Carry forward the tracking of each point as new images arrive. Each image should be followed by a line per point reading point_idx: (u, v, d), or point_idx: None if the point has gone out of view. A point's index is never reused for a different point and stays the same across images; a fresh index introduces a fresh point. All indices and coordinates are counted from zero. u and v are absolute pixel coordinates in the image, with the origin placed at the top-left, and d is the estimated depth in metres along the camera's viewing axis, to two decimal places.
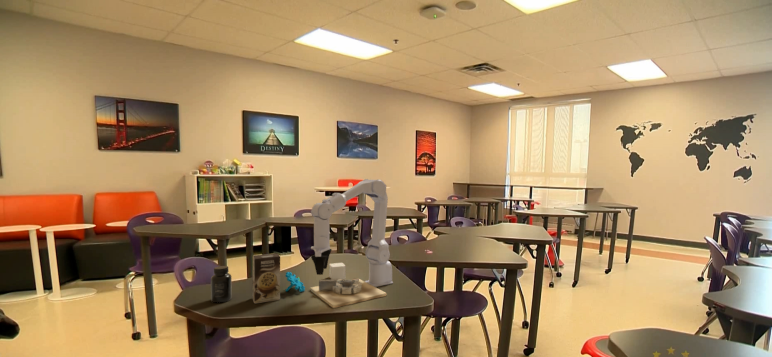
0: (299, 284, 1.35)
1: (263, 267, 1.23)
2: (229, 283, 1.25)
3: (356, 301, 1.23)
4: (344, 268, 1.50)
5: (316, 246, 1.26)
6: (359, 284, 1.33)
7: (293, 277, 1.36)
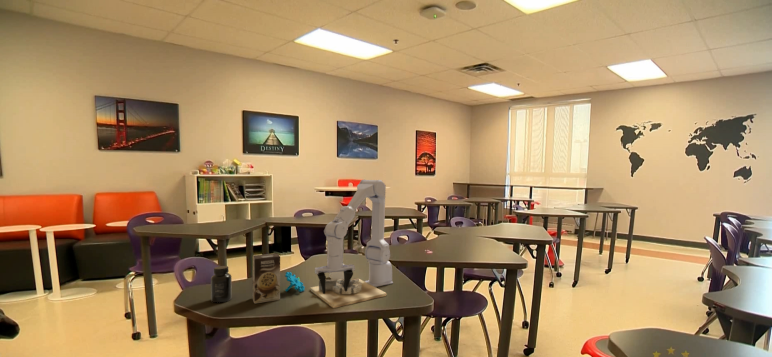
0: (299, 284, 1.35)
1: (263, 267, 1.23)
2: (229, 283, 1.25)
3: (356, 301, 1.23)
4: None
5: None
6: (359, 284, 1.33)
7: (293, 277, 1.36)
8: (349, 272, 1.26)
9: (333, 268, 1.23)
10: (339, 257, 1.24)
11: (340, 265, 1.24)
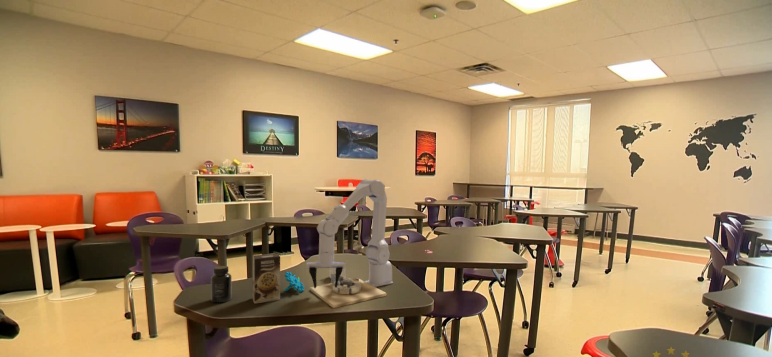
0: (298, 284, 1.35)
1: (263, 267, 1.23)
2: (229, 283, 1.25)
3: (356, 301, 1.23)
4: None
5: None
6: (352, 287, 1.29)
7: (292, 277, 1.36)
8: (339, 269, 1.29)
9: (322, 264, 1.27)
10: (328, 254, 1.28)
11: (329, 262, 1.28)
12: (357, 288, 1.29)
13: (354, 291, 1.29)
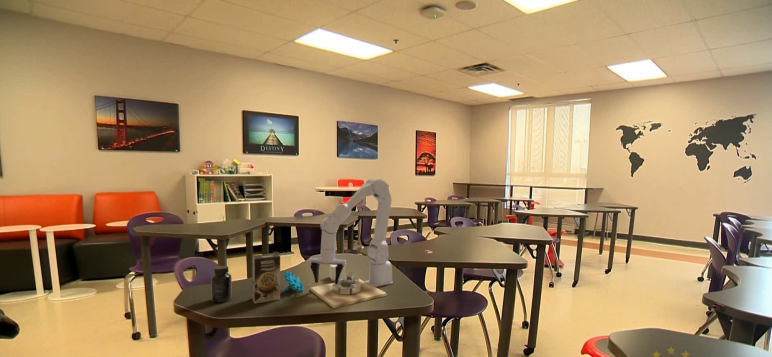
0: (298, 284, 1.35)
1: (263, 267, 1.23)
2: (229, 283, 1.25)
3: (356, 301, 1.23)
4: (344, 268, 1.50)
5: None
6: (343, 288, 1.28)
7: (292, 277, 1.36)
8: (338, 266, 1.33)
9: (322, 260, 1.32)
10: (328, 250, 1.32)
11: (329, 258, 1.32)
12: (347, 290, 1.27)
13: (343, 292, 1.28)
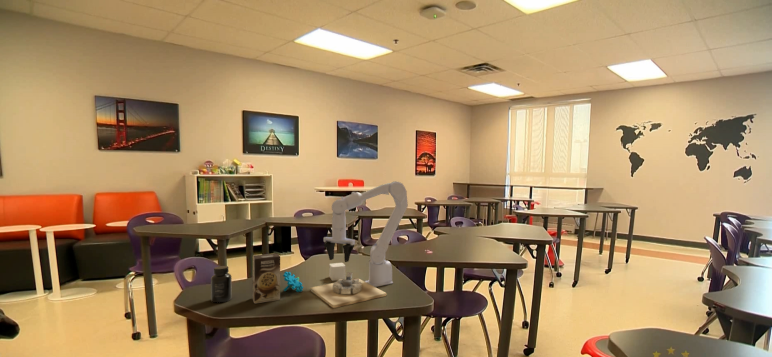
0: (297, 284, 1.35)
1: (263, 267, 1.23)
2: (229, 283, 1.25)
3: (356, 301, 1.23)
4: (344, 268, 1.50)
5: None
6: (344, 288, 1.28)
7: (291, 277, 1.36)
8: (346, 245, 1.40)
9: (333, 239, 1.42)
10: (337, 230, 1.41)
11: (338, 237, 1.41)
12: (348, 290, 1.28)
13: (344, 292, 1.28)
